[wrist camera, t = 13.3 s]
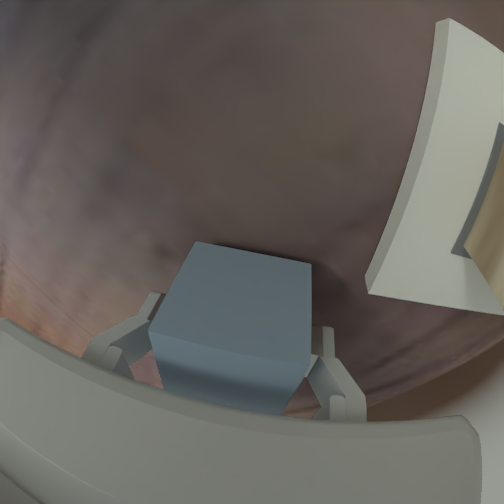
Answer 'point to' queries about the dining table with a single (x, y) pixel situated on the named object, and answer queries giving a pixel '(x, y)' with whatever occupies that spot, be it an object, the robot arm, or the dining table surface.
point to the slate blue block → (235, 328)
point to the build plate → (446, 179)
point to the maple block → (490, 234)
